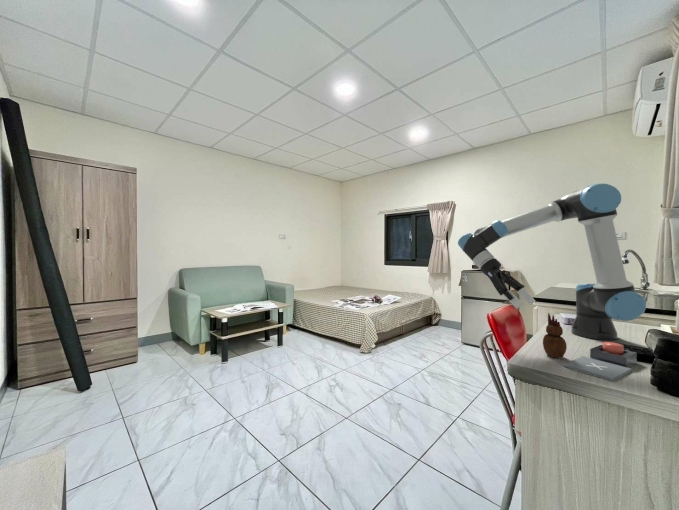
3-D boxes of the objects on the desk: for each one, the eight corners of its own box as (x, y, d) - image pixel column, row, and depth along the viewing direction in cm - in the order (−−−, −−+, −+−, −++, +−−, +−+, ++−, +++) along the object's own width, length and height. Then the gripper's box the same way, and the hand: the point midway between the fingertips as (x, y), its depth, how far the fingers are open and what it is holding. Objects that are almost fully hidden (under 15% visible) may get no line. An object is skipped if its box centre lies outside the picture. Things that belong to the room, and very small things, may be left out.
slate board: (582, 358, 96) (582, 356, 96) (631, 371, 86) (631, 368, 86) (563, 366, 89) (563, 363, 89) (613, 381, 79) (613, 378, 79)
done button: (606, 349, 97) (606, 341, 97) (626, 354, 93) (626, 345, 93) (600, 352, 95) (600, 343, 95) (620, 356, 90) (620, 347, 90)
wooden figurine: (539, 352, 102) (539, 312, 102) (555, 352, 102) (555, 312, 102) (553, 359, 95) (552, 316, 95) (570, 359, 95) (570, 316, 95)
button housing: (601, 354, 100) (601, 344, 100) (636, 362, 92) (636, 352, 92) (590, 359, 96) (590, 349, 96) (626, 368, 88) (626, 357, 88)
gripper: (493, 268, 127) (529, 307, 115) (466, 269, 111) (505, 314, 100) (506, 257, 123) (545, 296, 111) (480, 257, 107) (522, 301, 96)
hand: (526, 304), depth 105 cm, fingers open, 13 cm apart
